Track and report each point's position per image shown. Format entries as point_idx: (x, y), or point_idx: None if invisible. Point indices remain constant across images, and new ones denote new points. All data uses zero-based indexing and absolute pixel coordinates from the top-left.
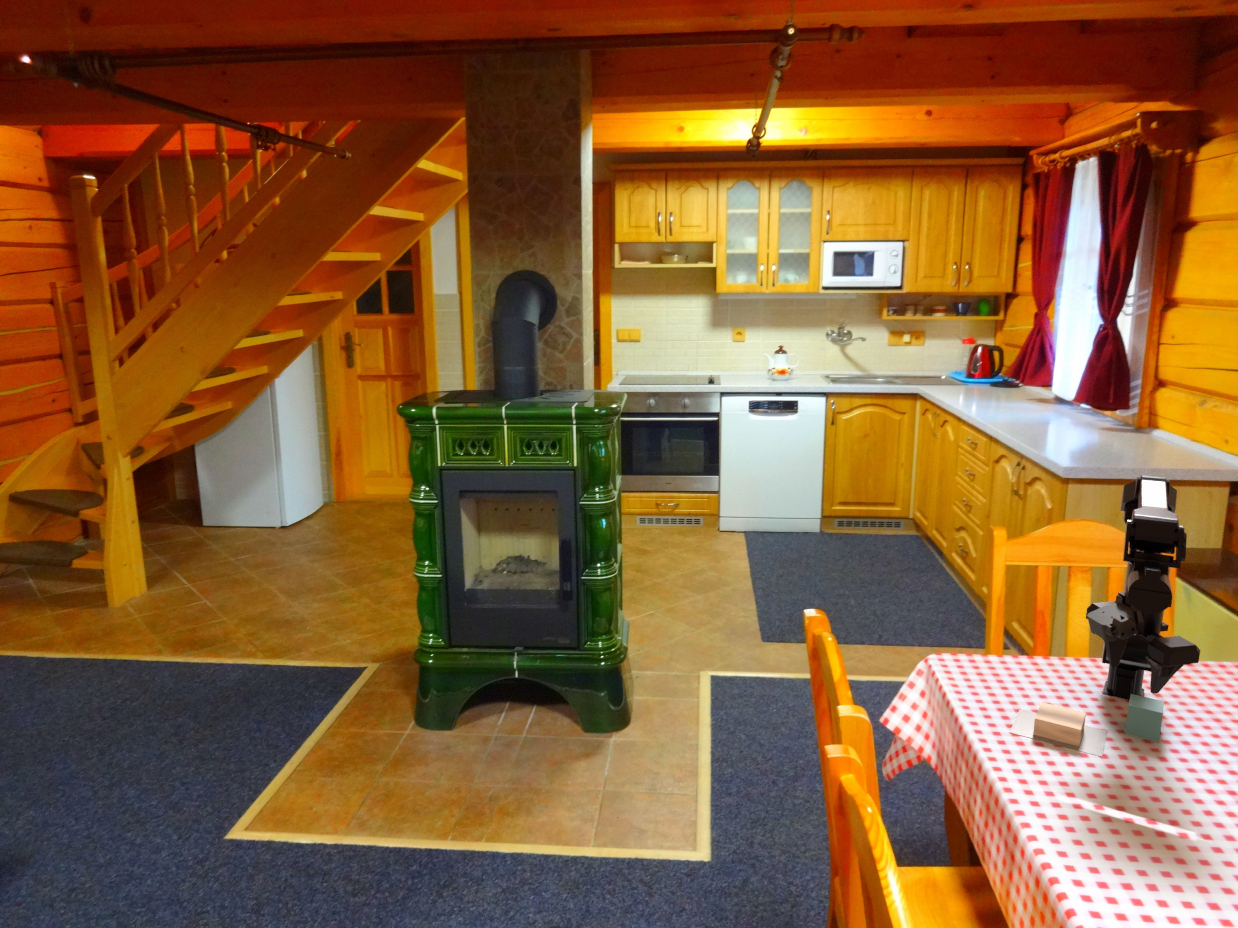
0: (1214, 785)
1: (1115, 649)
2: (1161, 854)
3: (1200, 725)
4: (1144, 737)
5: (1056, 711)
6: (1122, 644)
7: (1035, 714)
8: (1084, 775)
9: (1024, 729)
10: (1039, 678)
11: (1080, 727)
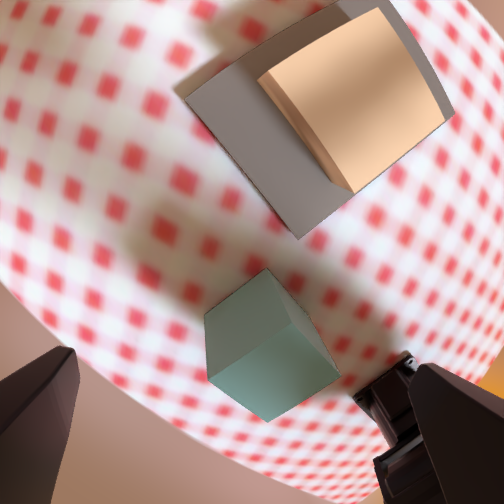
0: (36, 292)
1: (477, 448)
2: None
3: (250, 433)
4: (231, 303)
5: (393, 106)
6: (464, 497)
7: None
8: (143, 6)
9: None
10: (495, 283)
11: (282, 84)
